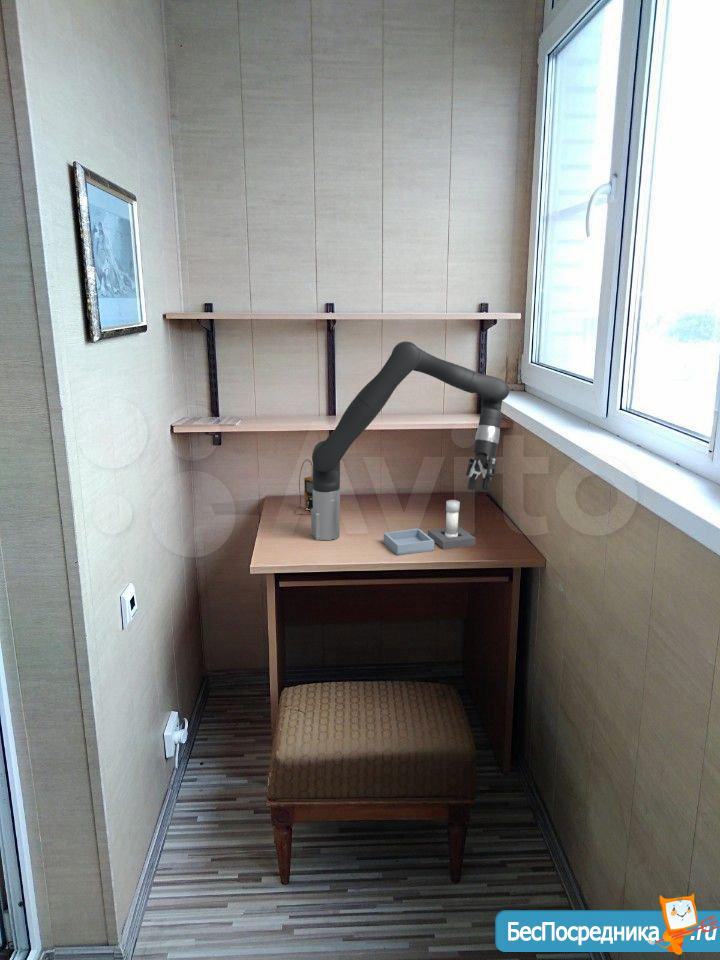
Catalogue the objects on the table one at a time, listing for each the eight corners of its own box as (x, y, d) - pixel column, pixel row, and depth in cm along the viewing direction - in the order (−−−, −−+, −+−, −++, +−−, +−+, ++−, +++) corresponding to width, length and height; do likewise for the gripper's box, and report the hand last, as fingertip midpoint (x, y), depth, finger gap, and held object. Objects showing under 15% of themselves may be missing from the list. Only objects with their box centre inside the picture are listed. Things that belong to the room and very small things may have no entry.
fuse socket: (443, 549, 223) (443, 542, 223) (427, 536, 234) (427, 530, 233) (475, 544, 227) (475, 537, 227) (458, 532, 238) (458, 526, 237)
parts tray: (397, 555, 218) (397, 545, 217) (383, 542, 229) (383, 532, 228) (433, 550, 222) (434, 540, 221) (418, 538, 233) (418, 528, 232)
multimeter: (284, 512, 258) (282, 461, 252) (303, 506, 265) (302, 457, 259) (310, 521, 248) (309, 469, 243) (329, 515, 255) (329, 463, 250)
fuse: (448, 543, 228) (450, 504, 224) (442, 539, 232) (444, 500, 228) (459, 542, 229) (462, 503, 226) (453, 537, 233) (455, 499, 230)
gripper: (465, 439, 223) (456, 487, 222) (487, 437, 210) (478, 488, 209) (485, 444, 226) (476, 492, 225) (508, 442, 212) (498, 493, 211)
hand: (477, 490), depth 217 cm, fingers open, 8 cm apart
